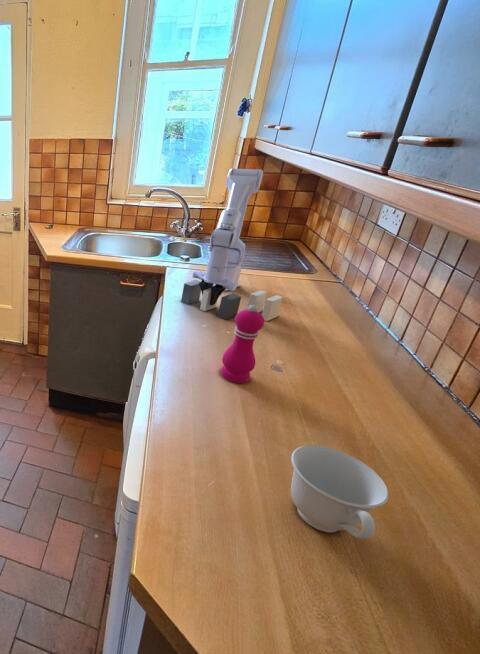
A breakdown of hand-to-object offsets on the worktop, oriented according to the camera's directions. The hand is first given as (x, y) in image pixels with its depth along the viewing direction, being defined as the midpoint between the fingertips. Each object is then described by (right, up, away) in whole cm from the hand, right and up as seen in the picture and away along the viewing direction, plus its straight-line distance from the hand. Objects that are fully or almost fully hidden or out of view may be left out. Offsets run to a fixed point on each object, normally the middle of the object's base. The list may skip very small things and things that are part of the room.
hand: (208, 303), depth 138 cm
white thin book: (0, -2, +1) cm, 2 cm away
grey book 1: (-3, +1, +6) cm, 7 cm away
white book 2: (+16, -5, -7) cm, 18 cm away
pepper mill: (-12, -19, -35) cm, 41 cm away
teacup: (-19, -36, -72) cm, 83 cm away
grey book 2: (+4, -4, -5) cm, 7 cm away
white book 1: (+14, -3, -3) cm, 14 cm away
